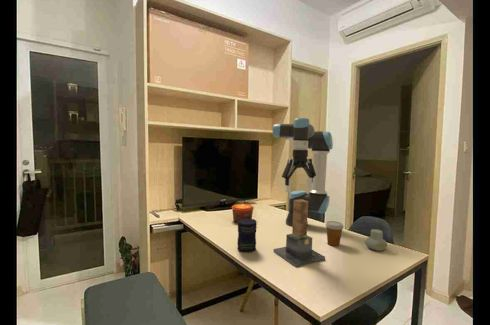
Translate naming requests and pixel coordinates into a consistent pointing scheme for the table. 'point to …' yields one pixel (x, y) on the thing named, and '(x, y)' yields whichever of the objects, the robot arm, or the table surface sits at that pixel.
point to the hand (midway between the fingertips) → (298, 190)
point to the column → (300, 219)
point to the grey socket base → (298, 251)
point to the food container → (242, 211)
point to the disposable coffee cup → (334, 232)
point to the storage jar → (246, 235)
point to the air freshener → (376, 240)
